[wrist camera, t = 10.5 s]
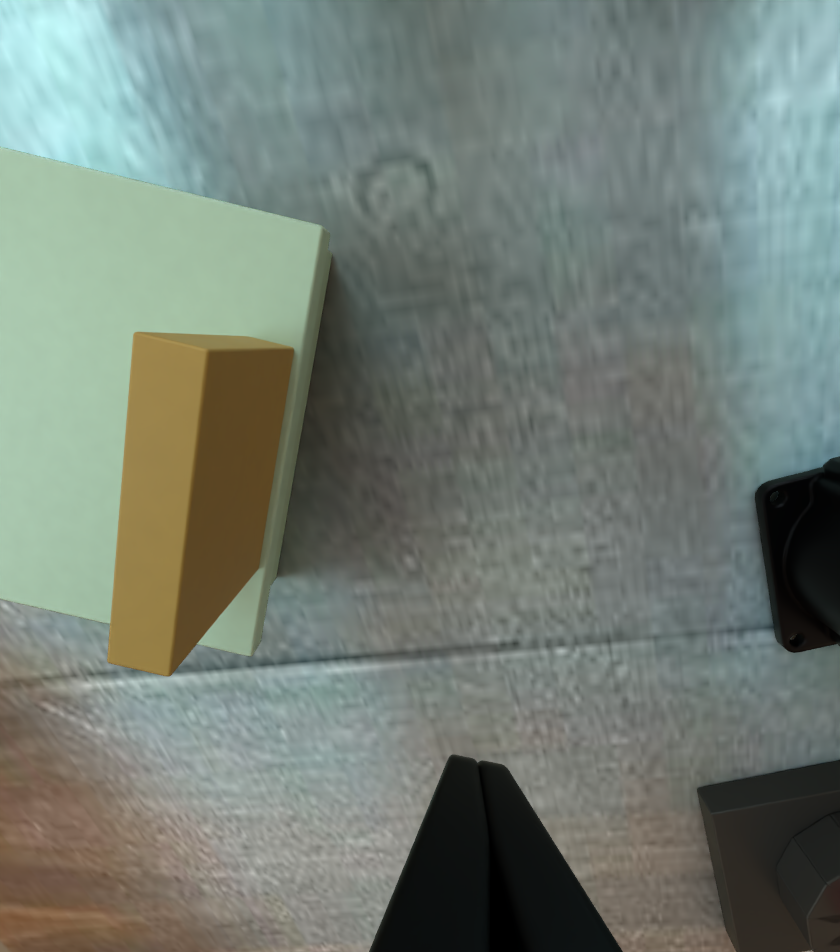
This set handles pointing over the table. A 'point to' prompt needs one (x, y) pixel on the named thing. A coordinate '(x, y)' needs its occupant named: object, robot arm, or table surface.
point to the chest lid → (147, 404)
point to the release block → (777, 858)
